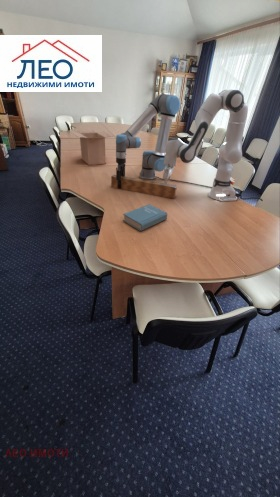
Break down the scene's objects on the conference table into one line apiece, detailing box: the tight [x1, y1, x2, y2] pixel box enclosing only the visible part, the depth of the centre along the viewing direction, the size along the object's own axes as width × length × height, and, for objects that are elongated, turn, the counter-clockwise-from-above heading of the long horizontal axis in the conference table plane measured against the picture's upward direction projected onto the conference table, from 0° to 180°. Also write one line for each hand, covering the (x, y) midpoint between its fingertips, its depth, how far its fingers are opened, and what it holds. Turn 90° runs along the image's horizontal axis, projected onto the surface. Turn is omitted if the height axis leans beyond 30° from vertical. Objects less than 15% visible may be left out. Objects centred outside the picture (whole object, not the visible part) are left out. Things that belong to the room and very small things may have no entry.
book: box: [122, 203, 168, 232], centre depth 138 cm, size 23×16×5 cm
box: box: [70, 129, 114, 166], centre depth 229 cm, size 44×36×27 cm
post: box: [110, 174, 178, 200], centre depth 175 cm, size 52×5×9 cm, turn 72°
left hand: (120, 186), depth 181 cm, fingers closed on post, 5 cm apart
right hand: (167, 181), depth 167 cm, fingers open, 8 cm apart
